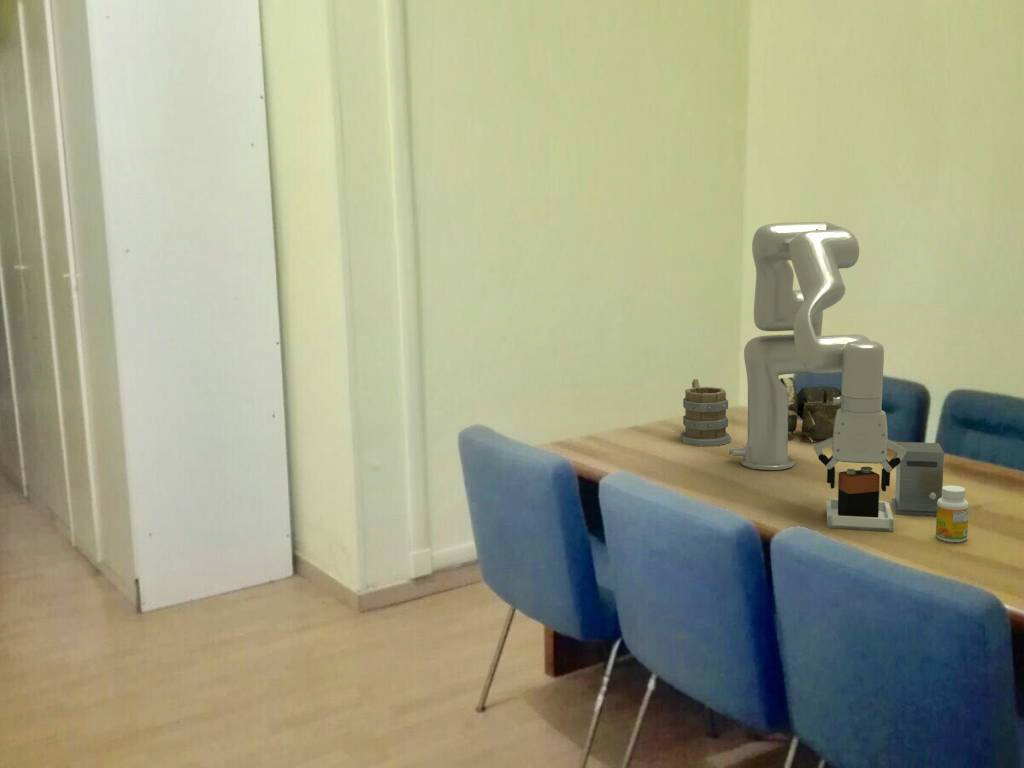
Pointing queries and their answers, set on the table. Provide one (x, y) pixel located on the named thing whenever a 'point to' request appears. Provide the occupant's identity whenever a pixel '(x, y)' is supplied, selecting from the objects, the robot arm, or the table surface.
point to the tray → (860, 518)
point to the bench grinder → (812, 410)
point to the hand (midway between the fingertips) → (857, 487)
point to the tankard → (705, 416)
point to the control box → (919, 479)
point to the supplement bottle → (952, 515)
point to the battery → (858, 493)
